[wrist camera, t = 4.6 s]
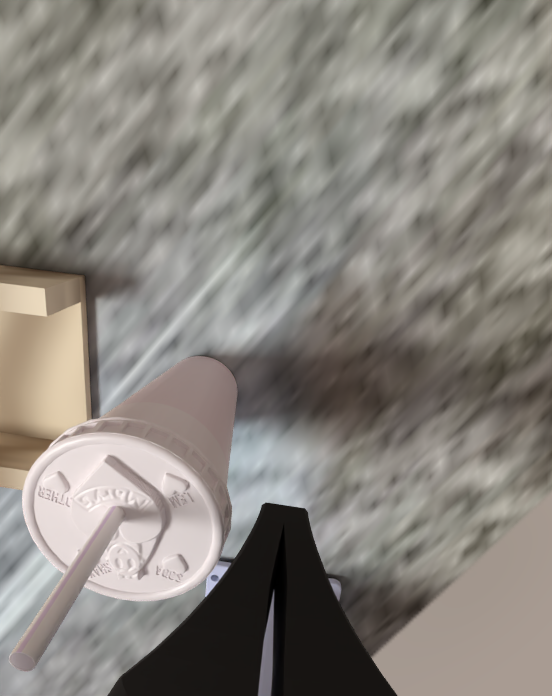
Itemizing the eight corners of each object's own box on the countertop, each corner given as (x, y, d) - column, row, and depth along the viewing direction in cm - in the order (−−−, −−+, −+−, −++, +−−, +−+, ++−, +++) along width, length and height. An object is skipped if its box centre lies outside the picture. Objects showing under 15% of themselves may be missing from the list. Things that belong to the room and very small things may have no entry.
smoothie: (260, 328, 20) (160, 564, 7) (267, 444, 22) (198, 790, 9) (133, 331, 21) (-175, 551, 8) (151, 442, 23) (-67, 764, 10)
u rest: (84, 275, 20) (44, 288, 17) (93, 458, 24) (61, 495, 21) (-55, 257, 21) (-118, 267, 18) (-26, 441, 24) (-74, 475, 21)
